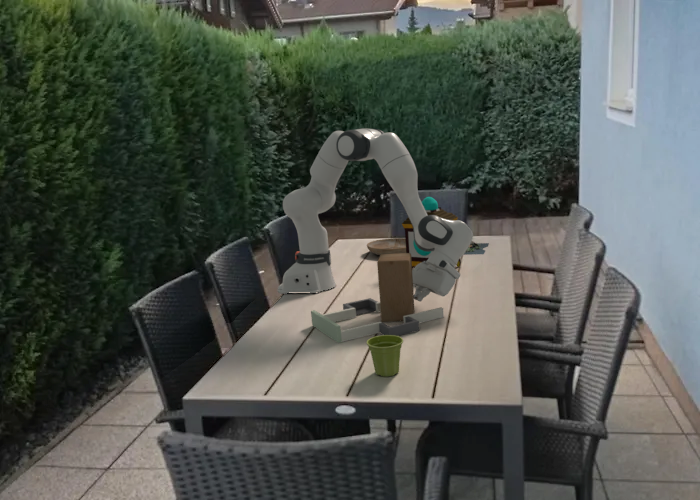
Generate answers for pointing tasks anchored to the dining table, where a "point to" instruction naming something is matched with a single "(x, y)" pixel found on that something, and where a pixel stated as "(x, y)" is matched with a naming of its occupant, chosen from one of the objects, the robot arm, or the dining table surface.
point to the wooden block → (395, 286)
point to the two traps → (397, 330)
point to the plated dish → (476, 248)
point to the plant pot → (385, 354)
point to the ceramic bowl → (388, 246)
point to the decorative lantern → (411, 247)
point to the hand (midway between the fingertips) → (416, 299)
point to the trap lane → (334, 330)
